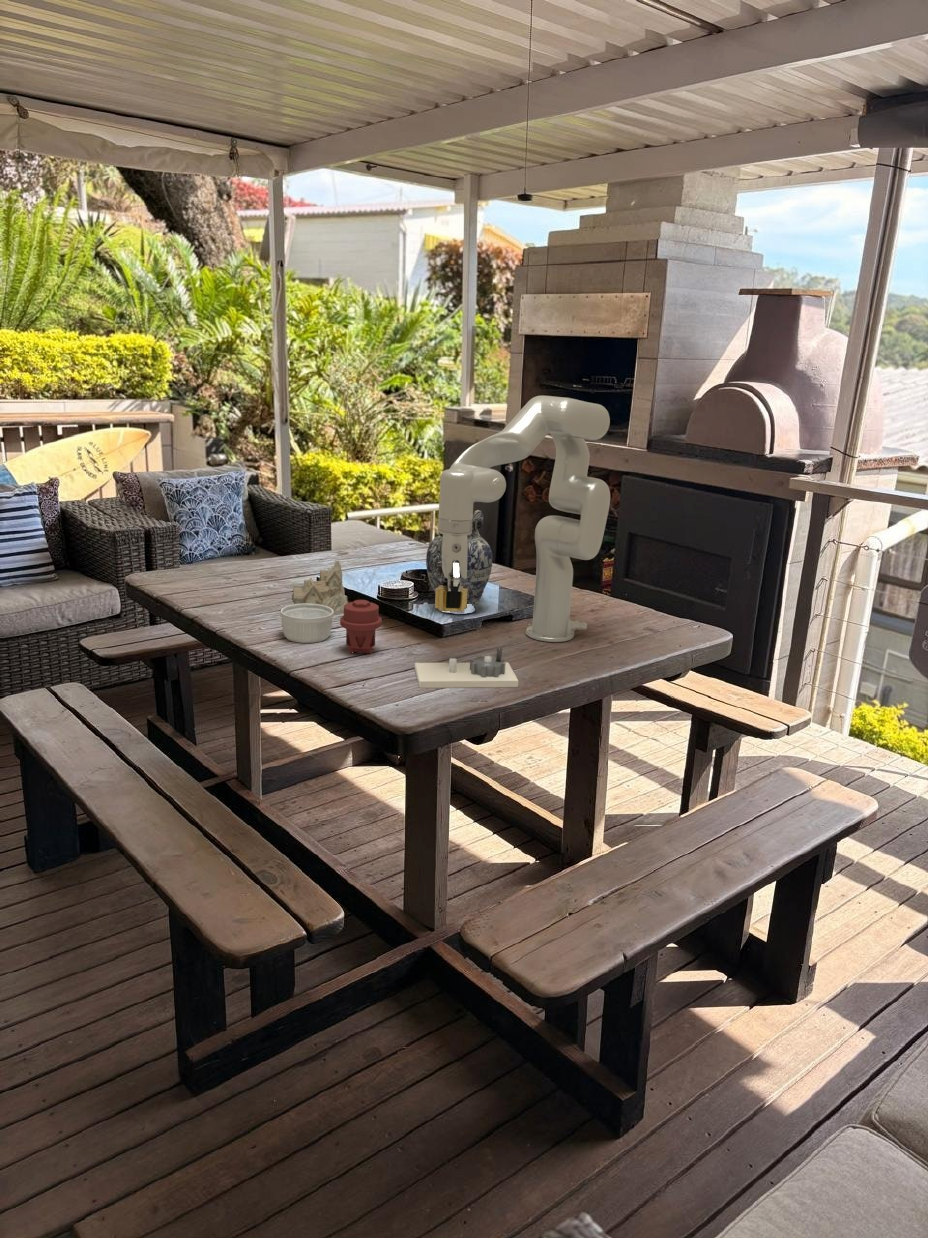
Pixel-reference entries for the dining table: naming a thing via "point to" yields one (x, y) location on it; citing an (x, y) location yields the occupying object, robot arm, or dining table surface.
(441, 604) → the brass gear
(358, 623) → the mechanical component
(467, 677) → the gear board
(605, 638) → the dining table surface
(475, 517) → the decorative vase
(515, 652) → the dining table surface
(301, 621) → the ramekin
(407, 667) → the dining table surface
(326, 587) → the ceramic cottage
